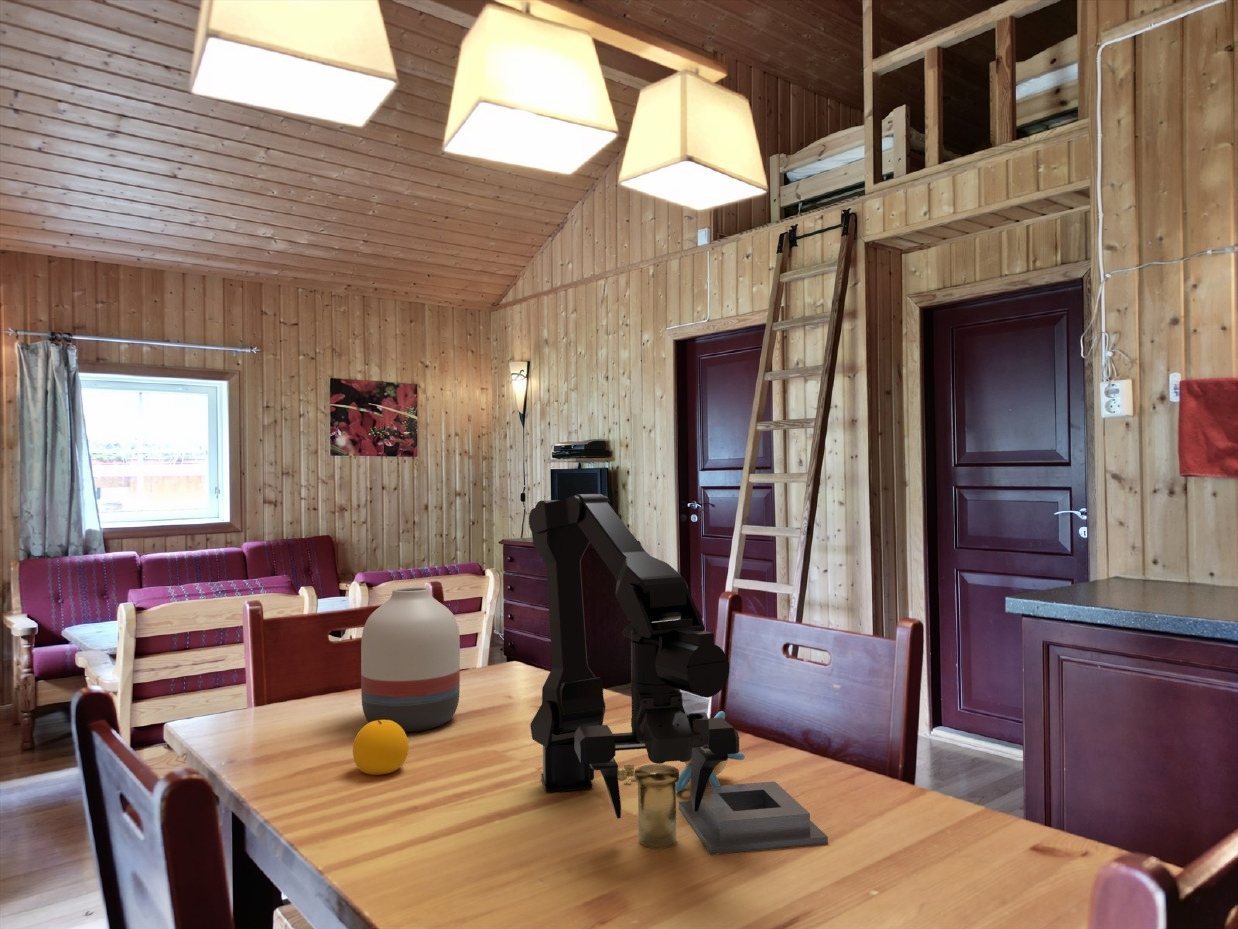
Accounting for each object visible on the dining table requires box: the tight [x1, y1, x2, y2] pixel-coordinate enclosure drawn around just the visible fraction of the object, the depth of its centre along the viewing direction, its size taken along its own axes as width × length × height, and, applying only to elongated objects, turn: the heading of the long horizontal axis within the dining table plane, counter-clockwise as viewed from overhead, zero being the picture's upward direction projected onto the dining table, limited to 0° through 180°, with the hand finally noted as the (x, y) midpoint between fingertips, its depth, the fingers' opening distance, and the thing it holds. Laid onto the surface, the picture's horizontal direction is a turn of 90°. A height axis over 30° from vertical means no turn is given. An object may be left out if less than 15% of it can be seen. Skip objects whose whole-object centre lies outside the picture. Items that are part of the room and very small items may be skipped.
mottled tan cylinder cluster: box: [618, 762, 637, 786], centre depth 119 cm, size 5×5×2 cm
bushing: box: [634, 763, 680, 849], centre depth 98 cm, size 5×5×8 cm
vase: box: [360, 586, 461, 733], centre depth 148 cm, size 17×17×24 cm
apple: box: [352, 720, 410, 776], centre depth 122 cm, size 8×8×8 cm
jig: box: [678, 780, 829, 856], centre depth 102 cm, size 14×14×3 cm
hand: (656, 814), depth 98 cm, fingers open, 9 cm apart
